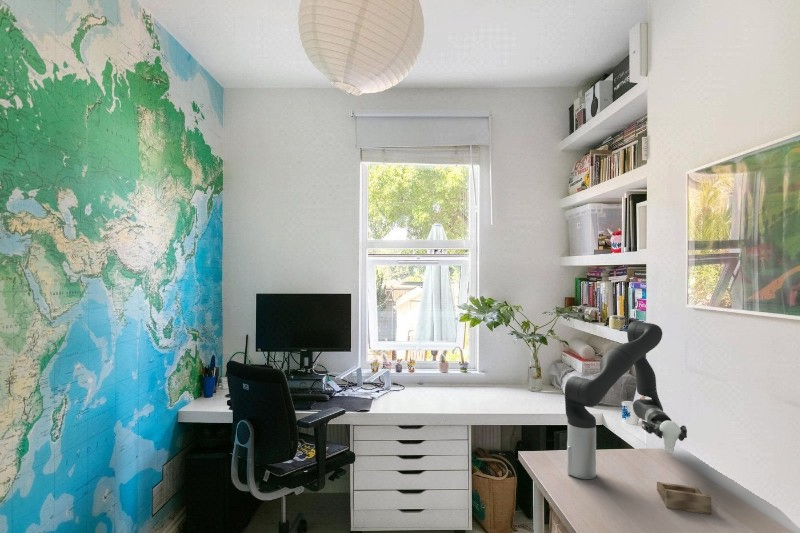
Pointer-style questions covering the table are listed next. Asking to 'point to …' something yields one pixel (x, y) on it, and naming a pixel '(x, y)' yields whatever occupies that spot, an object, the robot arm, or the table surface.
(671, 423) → the lightbulb
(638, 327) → the robot arm
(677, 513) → the table surface
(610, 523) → the table surface
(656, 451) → the table surface
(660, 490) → the cradle
